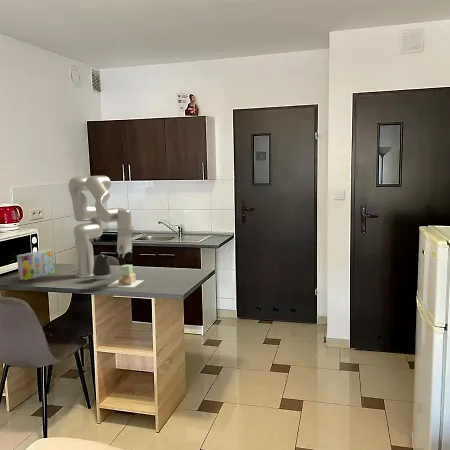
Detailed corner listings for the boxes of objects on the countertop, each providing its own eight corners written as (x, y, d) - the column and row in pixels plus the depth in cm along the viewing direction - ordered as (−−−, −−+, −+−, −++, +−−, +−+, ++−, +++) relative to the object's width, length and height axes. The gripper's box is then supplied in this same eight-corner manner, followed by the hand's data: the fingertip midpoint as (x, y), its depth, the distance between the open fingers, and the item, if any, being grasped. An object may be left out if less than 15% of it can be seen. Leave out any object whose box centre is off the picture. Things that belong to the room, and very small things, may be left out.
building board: (106, 288, 249) (106, 286, 249) (118, 281, 264) (117, 279, 264) (134, 288, 246) (134, 287, 246) (144, 282, 260) (144, 280, 260)
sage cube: (120, 275, 252) (120, 266, 251) (124, 273, 257) (124, 264, 256) (129, 275, 251) (129, 266, 250) (132, 273, 256) (132, 264, 255)
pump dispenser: (102, 282, 262) (101, 256, 260) (89, 280, 267) (87, 255, 265) (115, 278, 271) (113, 253, 269) (102, 276, 276) (100, 251, 274)
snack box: (49, 272, 292) (48, 249, 290) (55, 273, 288) (53, 249, 287) (18, 279, 275) (16, 254, 273) (23, 280, 271) (21, 255, 269)
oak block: (118, 284, 252) (118, 275, 251) (124, 281, 259) (123, 272, 258) (130, 285, 250) (130, 276, 250) (135, 281, 257) (135, 273, 257)
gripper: (124, 229, 260) (125, 259, 263) (111, 234, 243) (112, 266, 246) (137, 229, 259) (138, 259, 261) (124, 234, 242) (125, 266, 244)
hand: (125, 262), depth 253 cm, fingers open, 9 cm apart
